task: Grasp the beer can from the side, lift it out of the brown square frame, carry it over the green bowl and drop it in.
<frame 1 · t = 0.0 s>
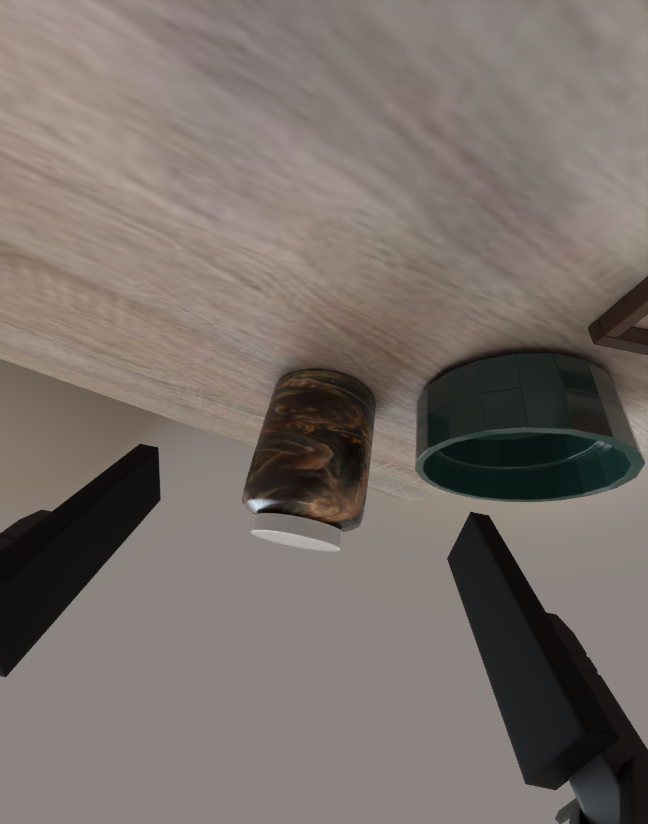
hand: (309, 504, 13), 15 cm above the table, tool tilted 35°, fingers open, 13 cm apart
jar: (324, 400, 34), on the table
green bowl: (502, 404, 29), on the table
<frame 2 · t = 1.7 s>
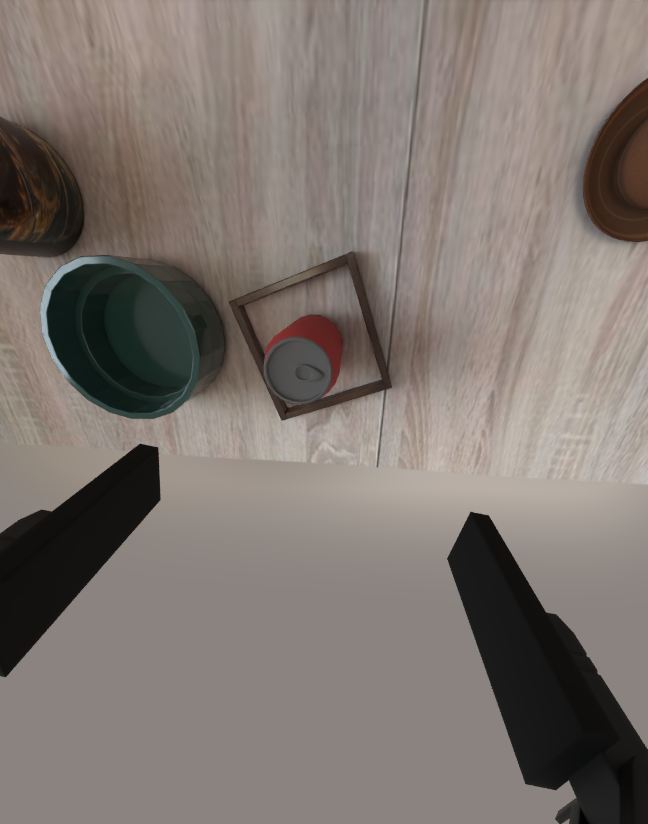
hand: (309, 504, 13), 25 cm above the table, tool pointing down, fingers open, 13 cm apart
brown square frame: (314, 343, 35), on the table
beer can: (314, 343, 35), resting in brown square frame
cup and saucer: (645, 166, 26), on the table
jar: (29, 196, 32), on the table
green bowl: (161, 334, 36), on the table
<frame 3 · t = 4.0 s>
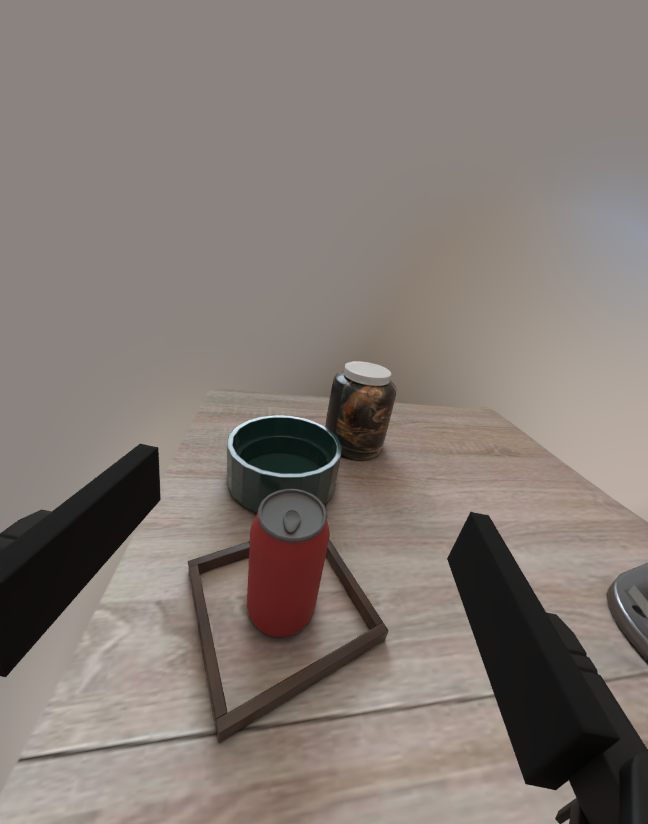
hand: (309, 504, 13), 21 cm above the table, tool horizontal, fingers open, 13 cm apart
brown square frame: (281, 603, 29), on the table
beer can: (281, 604, 30), resting in brown square frame
jar: (352, 443, 59), on the table
green bowl: (282, 480, 46), on the table
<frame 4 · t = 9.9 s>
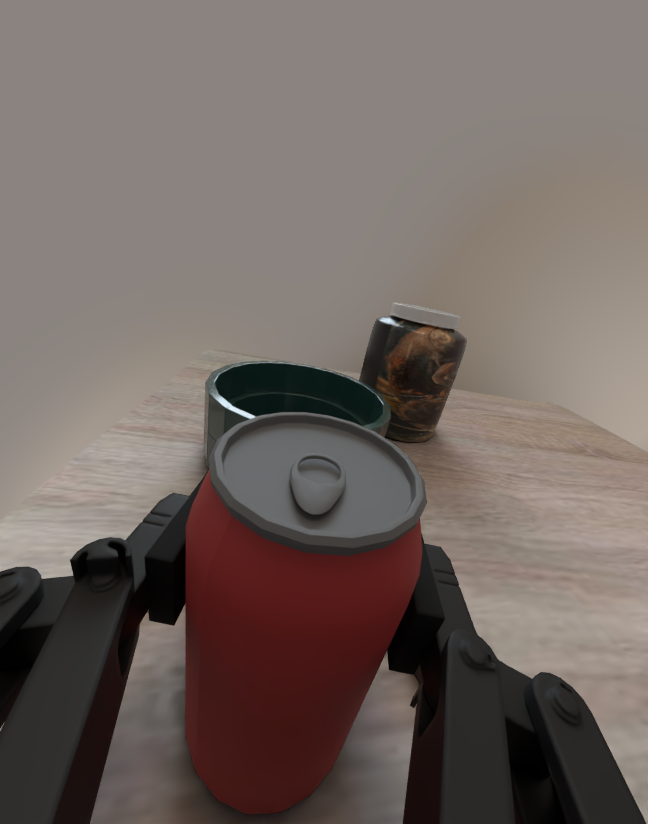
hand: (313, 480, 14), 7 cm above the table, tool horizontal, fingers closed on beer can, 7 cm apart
beer can: (269, 696, 13), resting in brown square frame, touching gripper
jar: (391, 421, 42), on the table
green bowl: (291, 455, 29), on the table
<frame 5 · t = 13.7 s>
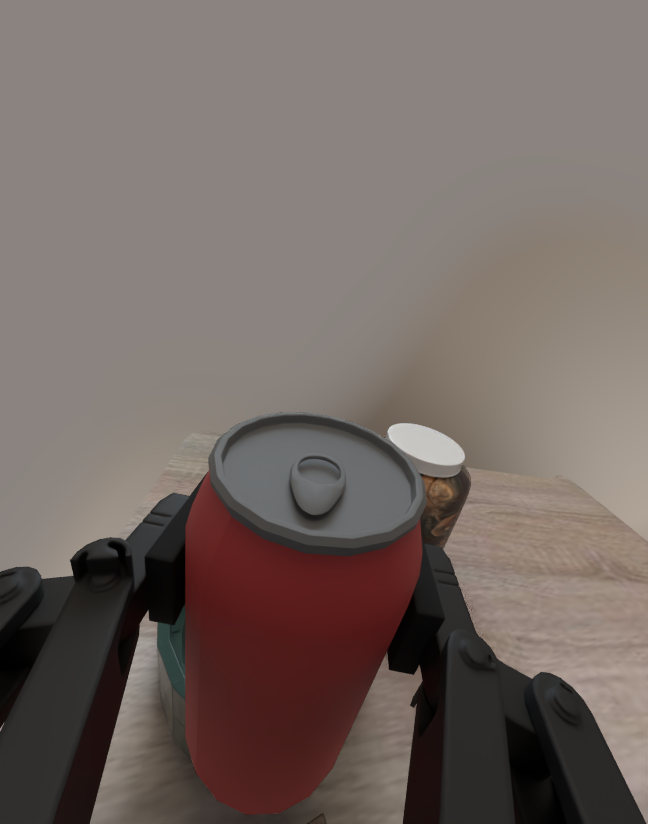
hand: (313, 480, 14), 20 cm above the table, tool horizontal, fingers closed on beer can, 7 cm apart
beer can: (269, 696, 13), point 12 cm above the table, touching gripper
jar: (386, 545, 38), on the table
green bowl: (267, 643, 25), on the table
when the fingers open (12 cm above the table, at t = 17.6 s): beer can drops 4 cm, resting on green bowl.
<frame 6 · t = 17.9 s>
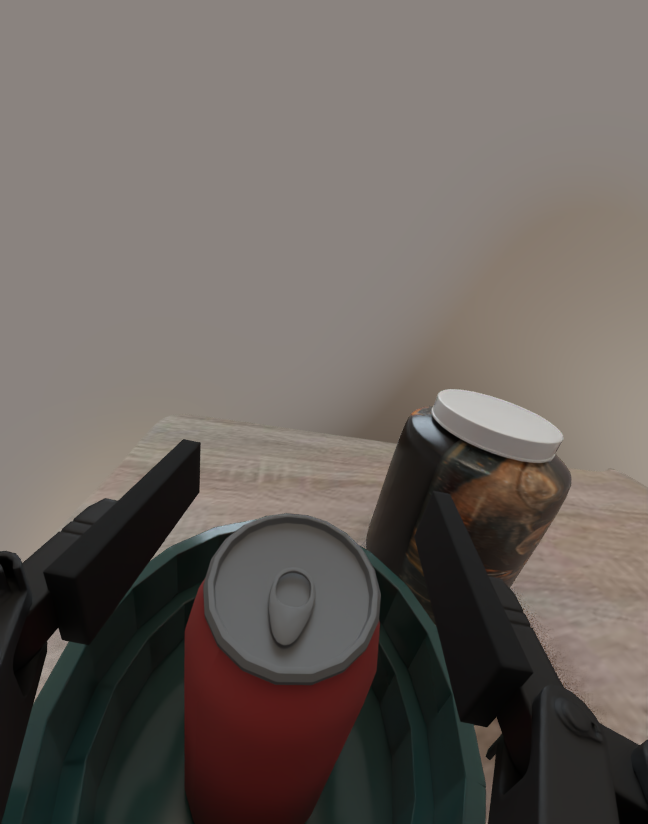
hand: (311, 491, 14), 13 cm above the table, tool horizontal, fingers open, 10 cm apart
beer can: (258, 745, 15), resting on green bowl
jar: (426, 561, 27), on the table
green bowl: (258, 747, 15), on the table
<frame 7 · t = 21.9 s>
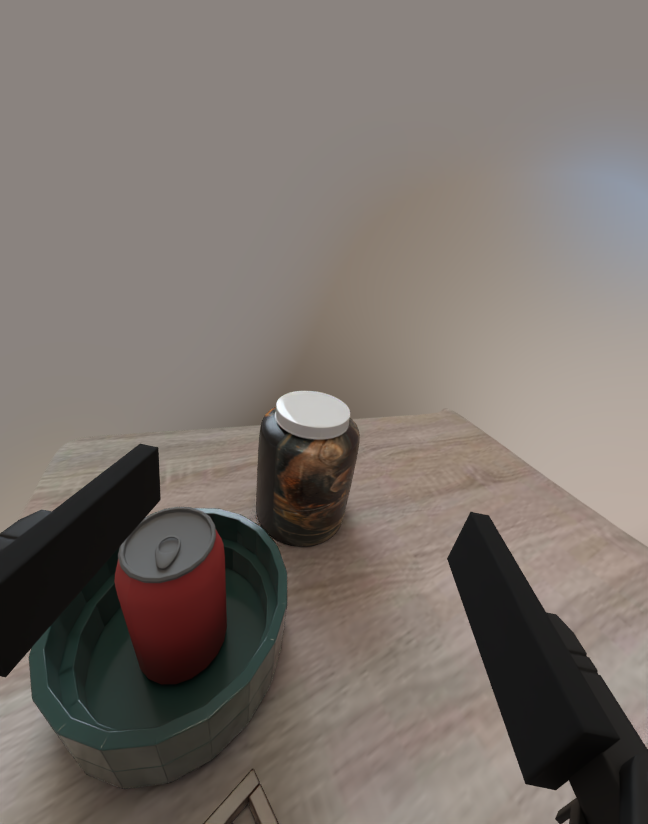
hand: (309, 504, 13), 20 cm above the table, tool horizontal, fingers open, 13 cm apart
beer can: (185, 639, 25), resting on green bowl
jar: (300, 508, 40), on the table
green bowl: (185, 640, 25), on the table
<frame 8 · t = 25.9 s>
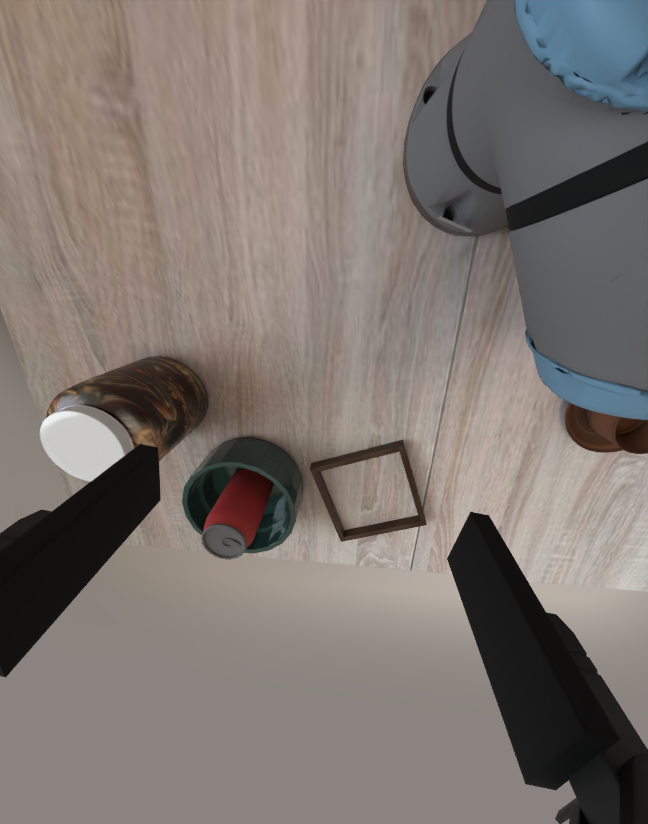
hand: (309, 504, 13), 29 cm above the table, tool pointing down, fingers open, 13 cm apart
brown square frame: (369, 491, 47), on the table
beer can: (253, 482, 48), resting on green bowl
cup and saucer: (607, 403, 39), on the table
jar: (168, 395, 44), on the table
green bowl: (253, 480, 48), on the table
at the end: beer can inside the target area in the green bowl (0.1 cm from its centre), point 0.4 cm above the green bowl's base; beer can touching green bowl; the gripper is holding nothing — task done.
